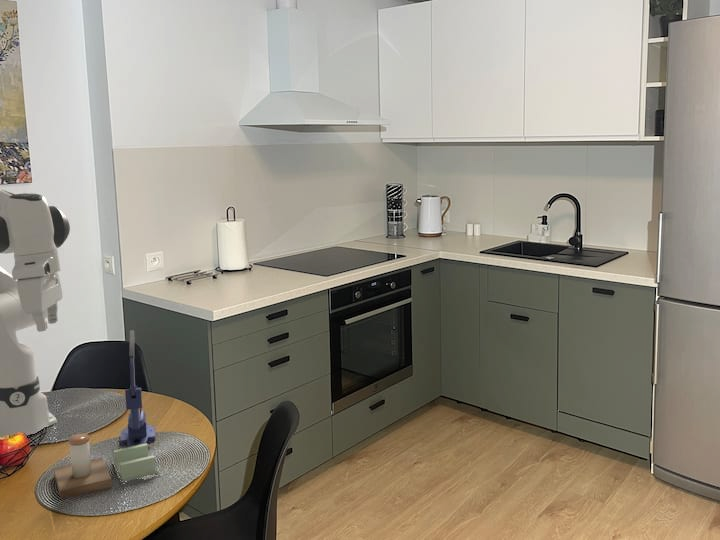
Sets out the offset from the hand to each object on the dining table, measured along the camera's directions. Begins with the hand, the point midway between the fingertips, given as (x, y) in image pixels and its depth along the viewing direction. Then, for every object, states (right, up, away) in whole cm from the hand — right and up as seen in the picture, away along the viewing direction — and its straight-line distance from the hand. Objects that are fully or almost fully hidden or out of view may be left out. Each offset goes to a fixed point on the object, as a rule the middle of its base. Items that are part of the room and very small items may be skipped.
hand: (48, 326), depth 154 cm
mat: (+15, -36, +13) cm, 41 cm away
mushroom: (+5, -35, +7) cm, 36 cm away
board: (+5, -38, +7) cm, 38 cm away
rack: (+15, -36, +13) cm, 41 cm away
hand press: (+11, -33, +30) cm, 46 cm away
